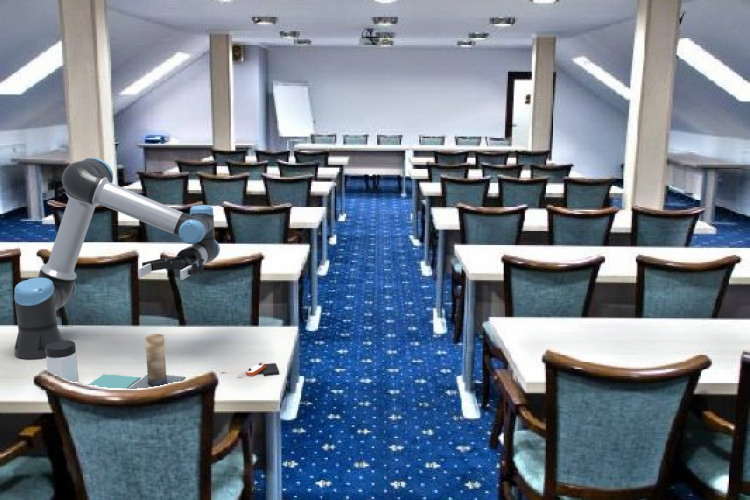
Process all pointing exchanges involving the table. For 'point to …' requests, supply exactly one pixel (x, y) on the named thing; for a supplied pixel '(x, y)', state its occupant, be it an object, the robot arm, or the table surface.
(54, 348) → the jar
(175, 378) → the slate seat
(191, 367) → the table surface
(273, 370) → the multimeter
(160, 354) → the banded sleeve
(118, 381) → the teal seat
